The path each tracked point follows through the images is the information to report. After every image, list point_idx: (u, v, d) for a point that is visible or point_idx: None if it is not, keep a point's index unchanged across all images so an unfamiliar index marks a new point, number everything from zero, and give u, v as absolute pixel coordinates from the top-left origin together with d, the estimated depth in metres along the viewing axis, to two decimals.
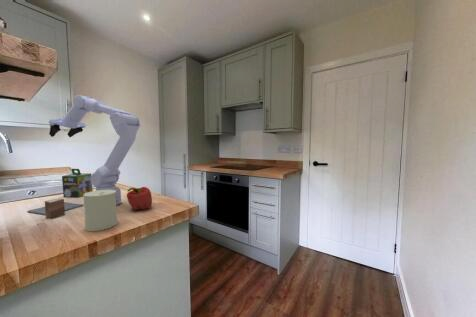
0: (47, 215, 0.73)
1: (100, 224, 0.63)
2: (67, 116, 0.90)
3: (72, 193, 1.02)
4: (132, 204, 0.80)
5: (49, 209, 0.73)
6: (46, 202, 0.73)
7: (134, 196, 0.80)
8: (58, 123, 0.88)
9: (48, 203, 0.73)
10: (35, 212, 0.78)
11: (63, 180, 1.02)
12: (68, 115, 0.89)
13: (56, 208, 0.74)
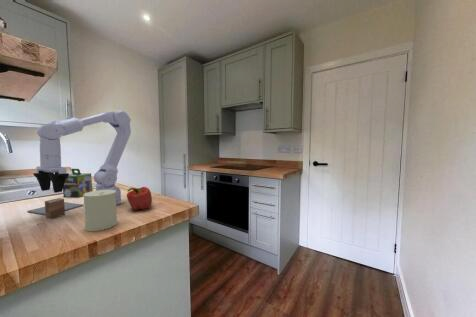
0: (47, 215, 0.73)
1: (100, 224, 0.63)
2: (55, 157, 0.73)
3: (72, 193, 1.02)
4: (132, 204, 0.80)
5: (49, 209, 0.73)
6: (46, 202, 0.73)
7: (134, 196, 0.80)
8: None
9: (48, 203, 0.73)
10: (35, 212, 0.78)
11: None
12: (53, 155, 0.73)
13: (56, 208, 0.74)
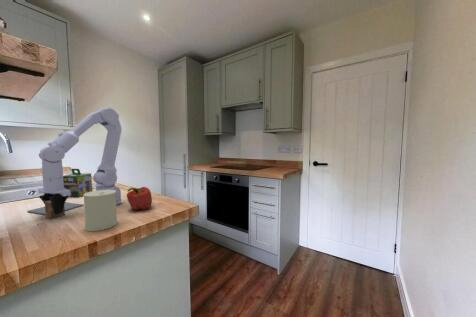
0: (47, 215, 0.73)
1: (100, 224, 0.63)
2: (58, 179, 0.74)
3: (72, 193, 1.02)
4: (132, 204, 0.80)
5: (49, 209, 0.73)
6: (46, 202, 0.73)
7: (134, 196, 0.80)
8: None
9: (48, 203, 0.73)
10: (35, 212, 0.78)
11: (63, 180, 1.02)
12: (56, 177, 0.73)
13: None
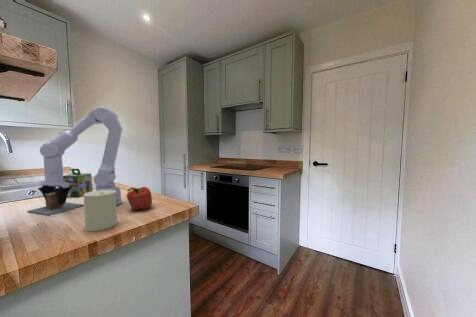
0: (47, 206, 0.81)
1: (100, 224, 0.63)
2: (58, 173, 0.82)
3: (72, 193, 1.02)
4: (132, 204, 0.80)
5: (49, 201, 0.81)
6: (46, 194, 0.81)
7: (134, 196, 0.80)
8: (66, 182, 0.83)
9: (48, 195, 0.81)
10: (35, 212, 0.78)
11: (63, 180, 1.02)
12: (50, 172, 0.80)
13: (55, 200, 0.82)
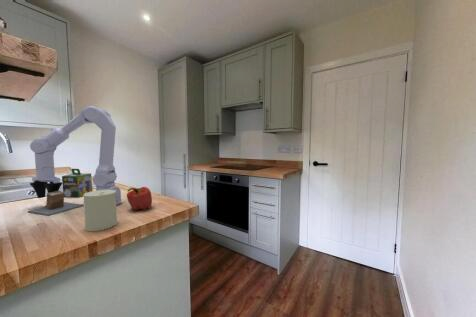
0: (47, 205, 0.81)
1: (100, 224, 0.63)
2: (49, 169, 0.84)
3: (72, 193, 1.02)
4: (132, 204, 0.80)
5: (50, 201, 0.81)
6: (48, 194, 0.81)
7: (134, 196, 0.80)
8: None
9: (50, 195, 0.81)
10: (35, 212, 0.78)
11: (63, 180, 1.02)
12: (40, 167, 0.82)
13: (56, 200, 0.82)
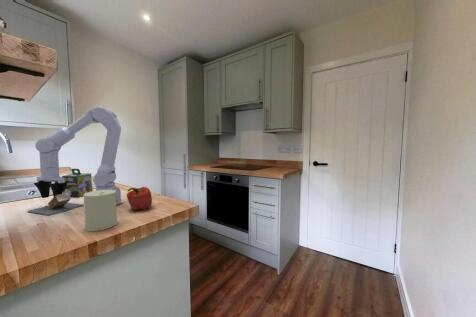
0: (50, 204, 0.81)
1: (100, 224, 0.63)
2: (54, 168, 0.83)
3: (72, 193, 1.02)
4: (132, 204, 0.80)
5: (54, 204, 0.80)
6: (56, 197, 0.80)
7: (134, 196, 0.80)
8: None
9: (56, 200, 0.80)
10: (35, 212, 0.78)
11: None
12: (46, 167, 0.81)
13: (60, 204, 0.82)
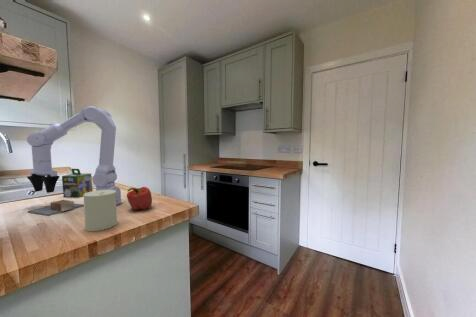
0: (52, 205, 0.81)
1: (100, 224, 0.63)
2: (46, 162, 0.84)
3: (72, 193, 1.02)
4: (132, 204, 0.80)
5: (56, 209, 0.80)
6: (60, 206, 0.79)
7: (134, 196, 0.80)
8: None
9: (60, 208, 0.79)
10: (35, 212, 0.78)
11: (63, 180, 1.02)
12: (37, 160, 0.82)
13: None
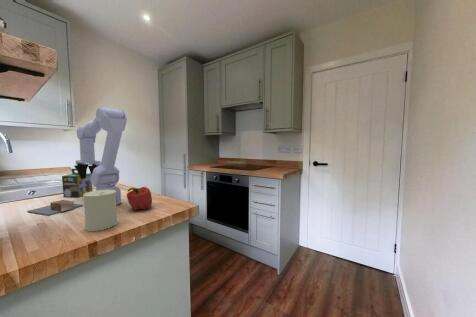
0: (52, 205, 0.81)
1: (100, 224, 0.63)
2: (91, 153, 0.96)
3: (72, 193, 1.02)
4: (132, 204, 0.80)
5: (56, 209, 0.80)
6: (60, 206, 0.79)
7: (134, 196, 0.80)
8: None
9: (60, 208, 0.79)
10: (35, 212, 0.78)
11: (63, 180, 1.02)
12: (80, 151, 0.94)
13: None
